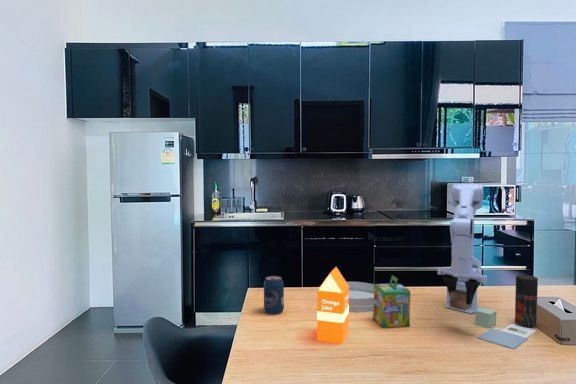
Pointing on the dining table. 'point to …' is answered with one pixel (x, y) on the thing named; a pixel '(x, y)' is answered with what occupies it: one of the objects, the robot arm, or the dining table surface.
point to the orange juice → (333, 308)
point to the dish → (361, 297)
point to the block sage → (485, 317)
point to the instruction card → (519, 330)
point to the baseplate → (502, 338)
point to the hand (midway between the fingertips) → (461, 301)
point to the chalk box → (391, 304)
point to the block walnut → (459, 300)
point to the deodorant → (526, 301)
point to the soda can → (273, 295)
